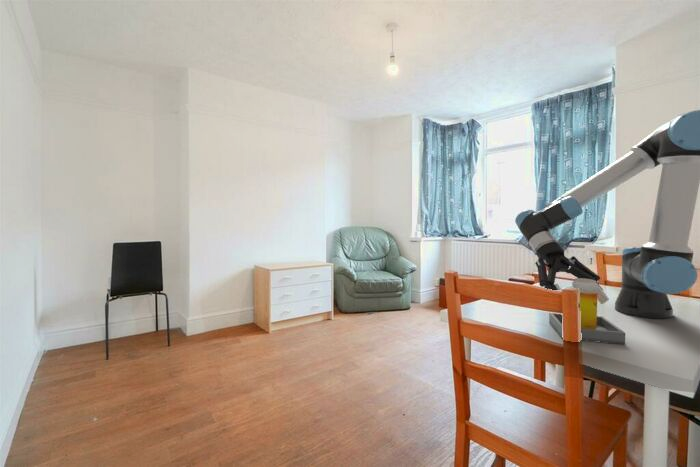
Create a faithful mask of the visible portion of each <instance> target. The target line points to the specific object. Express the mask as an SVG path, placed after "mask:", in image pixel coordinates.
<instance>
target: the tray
mask: <svg viewBox="0 0 700 467" xmlns="http://www.w3.org/2000/svg"><path fill="white" fill-rule="evenodd" d="M548 314H549V315H548V321H549V322H548V323H549V324H550V326H551V327H552V328H553V329H554V331H555V332H556V333H557V334H558V335H559V337H560V338H561V339H562V315H561V314H562V313H559V314H557V313H556V312H549V313H548ZM581 333H582V341H583V342H585V341H584V340H588V341H587V342H591V341H600V342H599V343H602V342H607V343H606V344H613V343H617V344H616V345H624V344H625V345H626V332H625V331H624V330H623V329H621V328H619V327H618V326H616V325H615V324H614V323H613V322H611V321H610V320H609V319H607V318H605V317H604V316H600V315H597V328H596V330H594V329H581Z"/></svg>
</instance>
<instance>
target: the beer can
mask: <svg viewBox="0 0 700 467" xmlns="http://www.w3.org/2000/svg"><path fill="white" fill-rule="evenodd" d="M597 283H598V282H597ZM597 283H596V281H595V280H592V279H585V278H577V277H576V278H574V279H573V281H572V283H571V284H572V285H571V288H572V287H574V288H579V289H580V311H581V329H594V330H596V328H597V316H598V299H597V295H598V284H599V283H598V284H597Z"/></svg>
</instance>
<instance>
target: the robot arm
mask: <svg viewBox="0 0 700 467" xmlns="http://www.w3.org/2000/svg"><path fill="white" fill-rule="evenodd" d="M659 165H662V168H661V173H660V177H659V178H660V179H659V184H658V190H657V195H656V201H655V205H654V211H653V216H652V222H651V228H650V233H649V238H648V241H647V242H645V243H644V244H642V245H641V246H639V247H638V246H637V247H636V246H635V247H634V246H631V247H630V246H629V247H625V248H623V249H622V253H621V254H622V255H621V289H620V291H619V293H618V296H616V300H615V302H614V309H615V310H616V311H617V312H620V313H623V314H627V315H630V316H635V317H641V318H651V319H671V318H673V316H674V309H673V306H672V304H671V302H670V300H669V297H668V295H674V294H681V293H684V292H686V291H688V290H689V289H692V287H693V286H694V285H695V283H696V282H697V279H698V271H697V268H696V267H695V265H694V264H693V257H694V250H693V249H691V248H690V247H689V241H690V240H689V239H690V235H691V229H692V224H693V219H694V215H695V213H694V212H695V209H696V204H697V200H698V199H697V198H698V193H699V187H700V109H696V110H692V111H688V112H685V113H682V114H679V115H677V116H676V117H674V118H673V119H672V120H670V121H668V122H666V123H664V124H661V125H660V126H659V127H657V128H655V130H654V131H652V132H651V133H649V135H648V136H646V137H644V138H643V139H642V140H641V141H639V142H638V143H637V144H635V145H634V146H632V147H631V148H630V150H629V152H628V153H626V154H625V155H624V156H622V157H620V158H619V159H617V160H615V161H614V162H612V163H611V164H609V165H608V166H606V167H605V168H603V169H602V170H600V171H598V172H597V173H595V174H594V175H592V176H590V177H589V178H587V179H585V181H582V182H581V183H580V184H577V185H576V186H575V187H573V188H572V189H571V190H568V191H567V192H565V193H564V194H562V195H561V196H559V197H558V198H555V199H554V200H553V201H551V202H549V203H547V204H545V205H544V207H543V209H541V210H538V211H535V210H533V209H527V210H523V211H521V212H520V213H518V214H517V216H516V217H515V220H514V221H515V224H516V226H517V227H518V230H519V231H520V233H521V234H522V235H523V237H524V239H526V241H527V242H528V244H529V245H530V247H531V249H532V250H533V251H534V253H535V255H536V256H537V257H538V259H537V260H536V261H535V265H536V267H537V274H538V282H539V286H540V287H541V288H543V287H544V289H545V288H547V289H548V290H549V289H552V290H562V291H563V289H562V288H561V286H560V285H559V283H555V281H556V275H557V273H565V274H570V275H573V276H574V277H576V278H585V279H592V280H595V281H596V283H597V284H598V295H597V302H599V303H600V305H604V304H605V303H607V302H608V301H609V300H610V298H609V297H608V295H607V294H606V293H605V292H604V289H603V288H602V287H601V285H600V284H599V282H598V281H599V280H601V276H599V275H598V274H596V273H595V272H594V271H593V270H591V269H590V268H589V267H587V266H586V265H585V264H583V263H582V262H581V261H580V260H578V258H577V257H576V256H574V255H572V256H571V257H569V258H568V257H567V256H566V255H565V250H564V248H563V247H562V246H561V244H560V243H559V242H558V240H557V239H556V238H555V236H554V235H553V233H552V232H550V231H551V230H553V229H555V228H557V227H559V226H561V225H563V224H565V223H568V222H569V221H571V220H574V219H576V218H577V217H579V216H581V215H582V214H583V212H584V211H583V210H584V209H583V208H584V207H586V206H587V205H588V204H589V205H590V203H592V202H594V201H595V200H597V199H599V198H600V197H602V196H604V195H605V194H607V193H609V192H610V191H612V190H613V189H615V188H617V187H619V186H620V185H621V184H624V182H627V181H628V180H630V179H632V178H633V177H636V176H637V175H638V174H640V173H642V172H644V171H645V170H647V169H649V170H652V169H654V168H656V167H658V166H659ZM547 268H548V270H547ZM547 289H546V290H547Z"/></svg>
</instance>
